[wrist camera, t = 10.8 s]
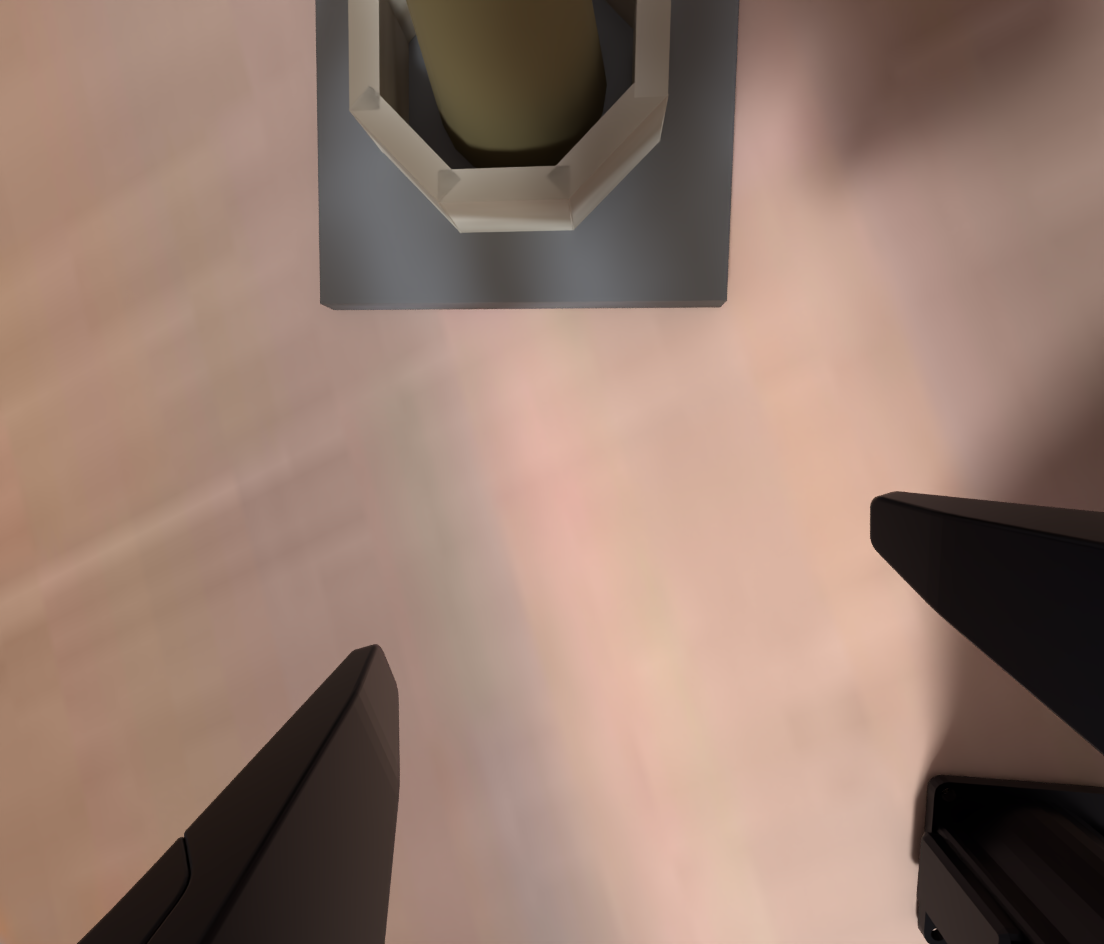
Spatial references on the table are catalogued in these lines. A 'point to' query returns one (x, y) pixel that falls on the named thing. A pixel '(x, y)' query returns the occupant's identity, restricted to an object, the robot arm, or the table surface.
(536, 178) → the socket
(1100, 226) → the table surface
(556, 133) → the cork
